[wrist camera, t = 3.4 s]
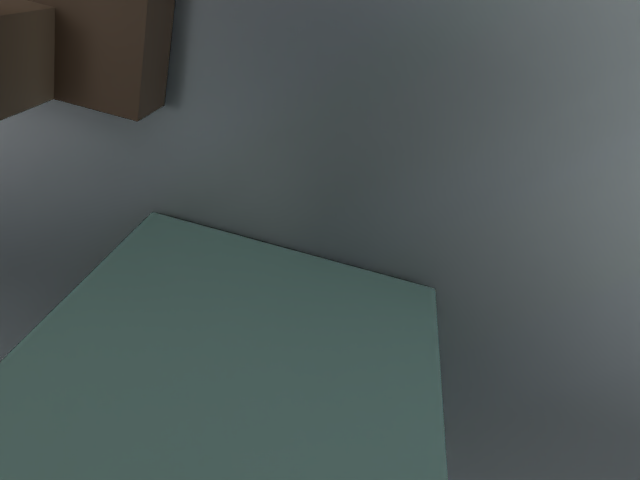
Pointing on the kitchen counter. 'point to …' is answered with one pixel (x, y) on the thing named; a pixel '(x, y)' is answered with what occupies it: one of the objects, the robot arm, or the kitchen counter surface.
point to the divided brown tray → (85, 54)
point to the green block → (226, 369)
